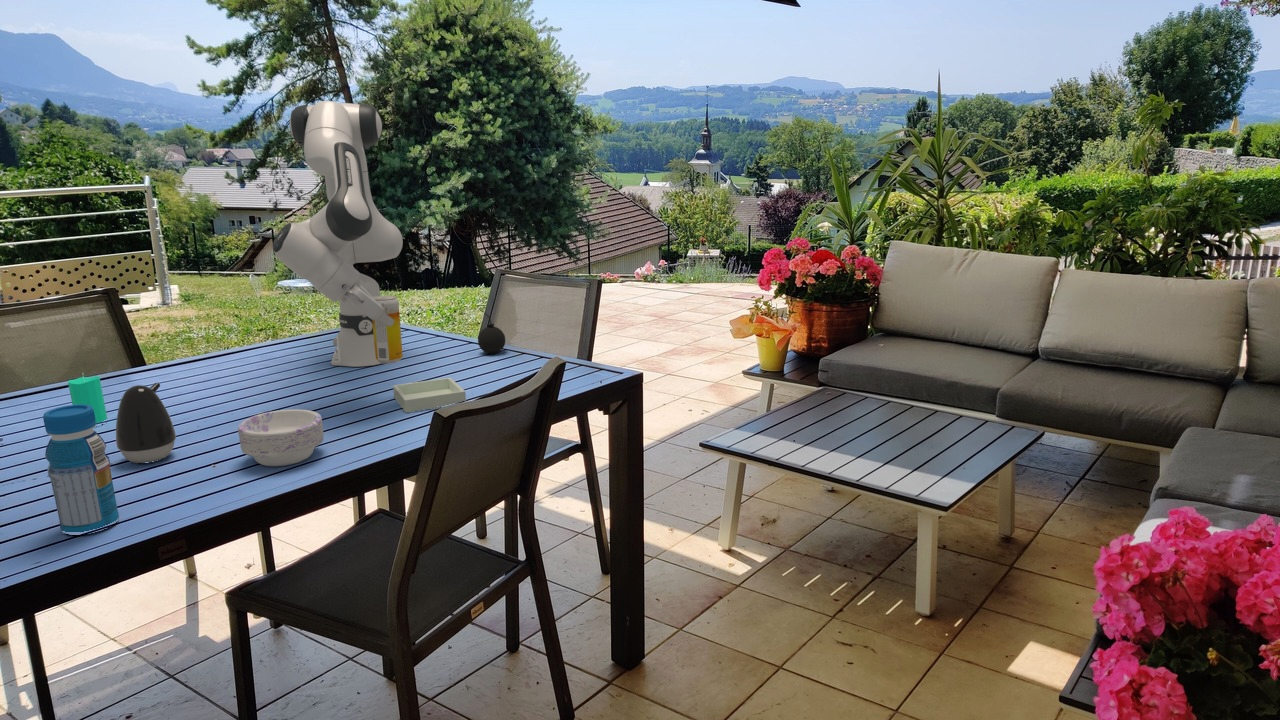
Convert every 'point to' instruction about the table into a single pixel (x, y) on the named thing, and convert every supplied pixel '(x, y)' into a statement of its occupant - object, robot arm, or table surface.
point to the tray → (428, 394)
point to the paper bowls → (281, 436)
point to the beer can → (388, 332)
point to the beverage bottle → (79, 469)
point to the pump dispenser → (144, 425)
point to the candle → (88, 395)
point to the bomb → (491, 339)
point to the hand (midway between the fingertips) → (389, 320)
